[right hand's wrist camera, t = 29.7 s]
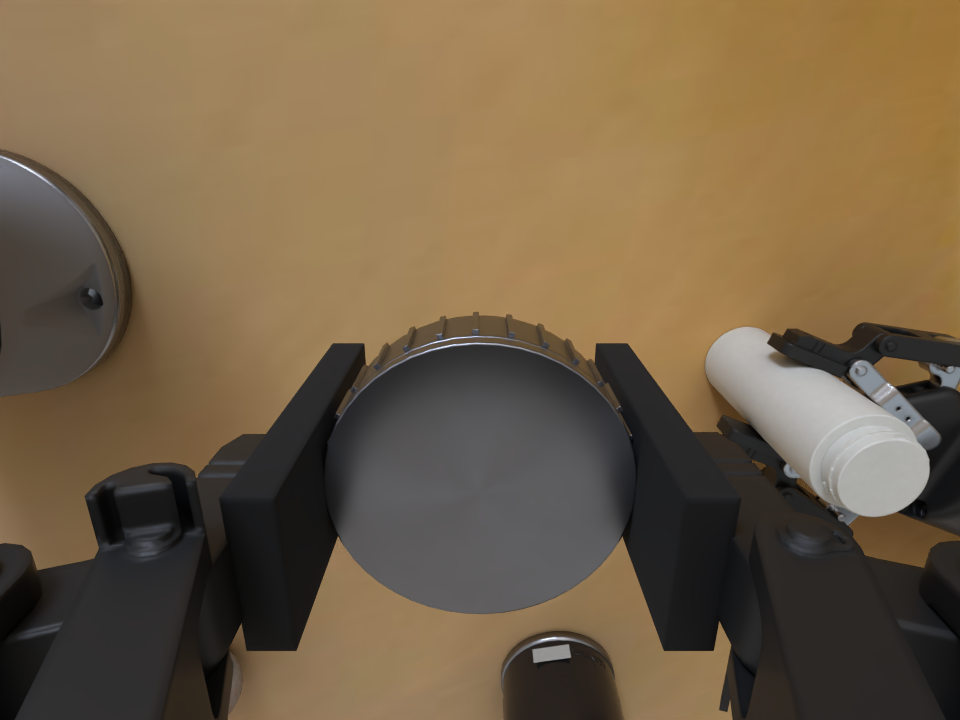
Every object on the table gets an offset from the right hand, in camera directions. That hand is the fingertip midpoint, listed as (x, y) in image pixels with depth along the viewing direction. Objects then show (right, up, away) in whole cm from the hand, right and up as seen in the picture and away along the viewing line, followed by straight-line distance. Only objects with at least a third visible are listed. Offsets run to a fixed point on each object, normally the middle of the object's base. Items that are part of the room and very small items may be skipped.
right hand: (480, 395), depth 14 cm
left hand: (+15, -1, +19) cm, 24 cm away
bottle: (+18, +1, +25) cm, 31 cm away
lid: (0, -1, -4) cm, 4 cm away
